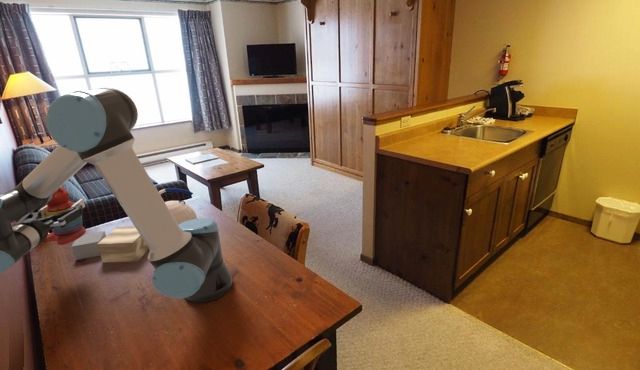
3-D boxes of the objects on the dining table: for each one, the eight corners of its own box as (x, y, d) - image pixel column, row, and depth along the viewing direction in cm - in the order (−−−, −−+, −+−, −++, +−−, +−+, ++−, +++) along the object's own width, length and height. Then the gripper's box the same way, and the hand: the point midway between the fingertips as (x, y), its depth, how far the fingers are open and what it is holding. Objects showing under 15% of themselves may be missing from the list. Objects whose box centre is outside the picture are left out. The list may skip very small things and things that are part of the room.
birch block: (137, 261, 125) (132, 242, 122) (103, 262, 125) (97, 244, 122) (154, 243, 137) (149, 225, 134) (122, 244, 137) (117, 227, 134)
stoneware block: (103, 255, 130) (98, 241, 128) (76, 260, 128) (71, 246, 125) (108, 244, 138) (104, 231, 136) (83, 248, 136) (78, 235, 133)
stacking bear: (44, 240, 114) (25, 191, 108) (75, 227, 122) (60, 180, 116) (62, 246, 109) (43, 195, 103) (93, 232, 118) (78, 184, 111)
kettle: (148, 223, 155) (139, 186, 148) (196, 213, 163) (189, 177, 156) (148, 242, 138) (137, 202, 131) (201, 230, 145) (193, 191, 139)
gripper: (-12, 252, 95) (37, 217, 116) (71, 242, 98) (104, 210, 119) (-23, 228, 93) (30, 197, 114) (63, 219, 96) (98, 190, 117)
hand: (68, 204), depth 116 cm, fingers closed on stacking bear, 9 cm apart
